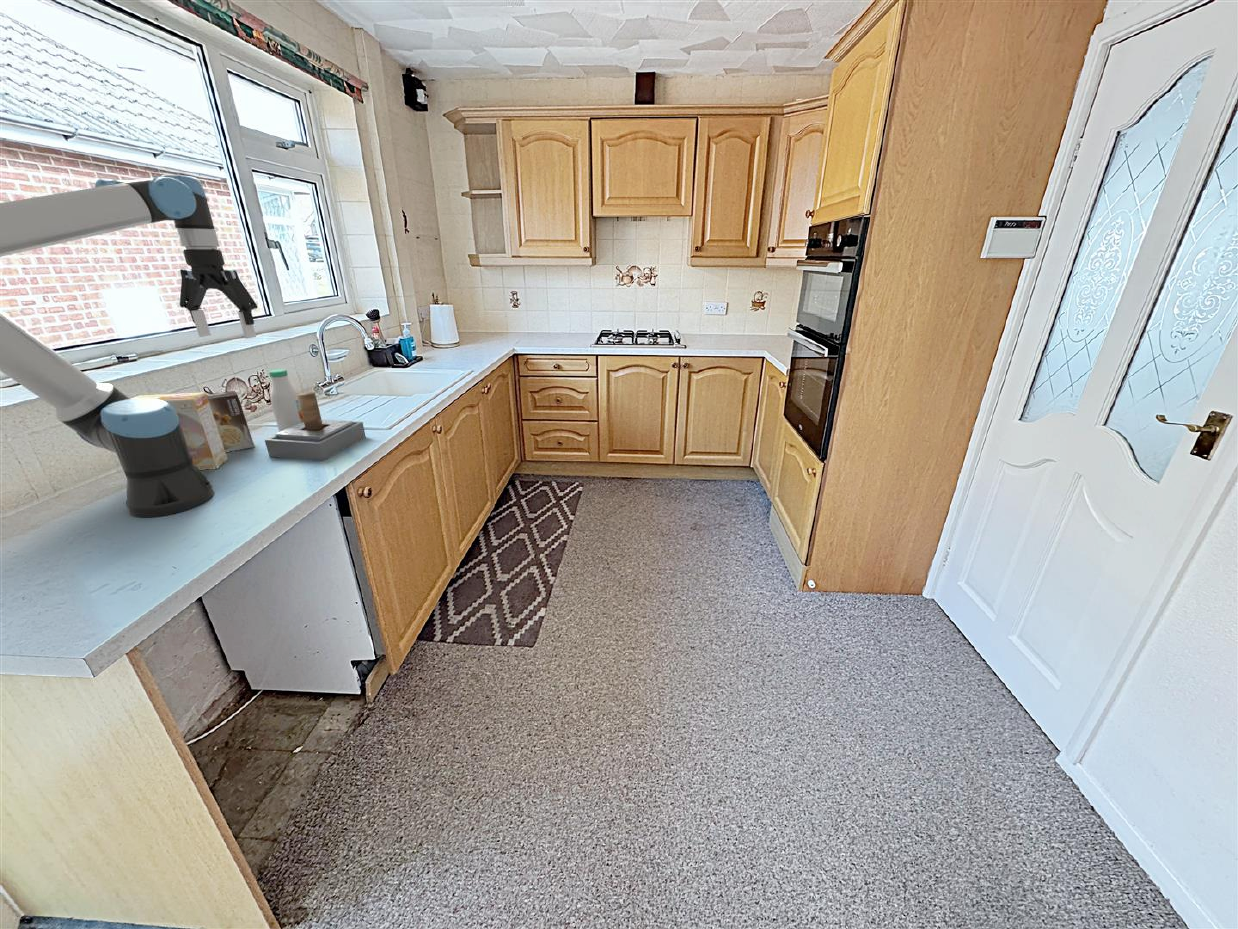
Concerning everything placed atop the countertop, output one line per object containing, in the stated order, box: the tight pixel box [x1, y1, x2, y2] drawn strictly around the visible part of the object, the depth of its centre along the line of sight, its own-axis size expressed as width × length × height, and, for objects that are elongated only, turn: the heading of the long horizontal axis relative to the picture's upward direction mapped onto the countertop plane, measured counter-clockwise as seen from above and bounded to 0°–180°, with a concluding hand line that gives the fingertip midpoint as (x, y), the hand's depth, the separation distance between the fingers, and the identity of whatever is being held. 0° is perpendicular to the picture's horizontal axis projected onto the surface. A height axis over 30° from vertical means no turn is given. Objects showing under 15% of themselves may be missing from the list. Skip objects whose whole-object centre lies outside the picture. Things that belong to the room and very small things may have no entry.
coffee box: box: [206, 390, 255, 453], centre depth 144 cm, size 9×6×16 cm
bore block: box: [274, 418, 353, 442], centre depth 147 cm, size 14×14×5 cm
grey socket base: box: [264, 420, 366, 461], centre depth 148 cm, size 19×17×5 cm
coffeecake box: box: [131, 391, 228, 471], centre depth 130 cm, size 15×7×20 cm, turn 105°
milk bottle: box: [268, 368, 304, 432], centre depth 155 cm, size 8×8×20 cm
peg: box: [297, 391, 323, 431], centre depth 145 cm, size 4×4×15 cm
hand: (227, 337), depth 130 cm, fingers open, 13 cm apart
